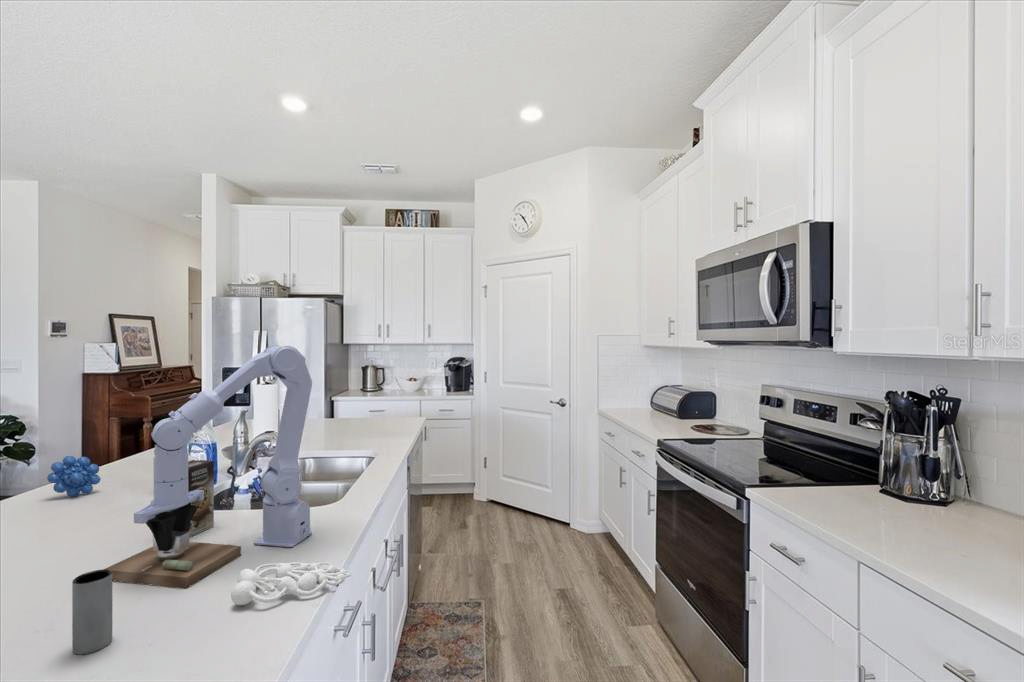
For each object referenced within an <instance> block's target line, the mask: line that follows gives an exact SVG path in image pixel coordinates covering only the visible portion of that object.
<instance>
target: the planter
mask: <svg viewBox="0 0 1024 682" xmlns="http://www.w3.org/2000/svg"><path fill="white" fill-rule="evenodd" d="M71 583H72V585H71V586H72V591H71V593H72V594H71V595H72V601H71V602H72V603H71V604H72V605H71V606H72V607H71V610H72V611H71V614H72V619H71V620H72V625H71V627H72V629H71V630H72V632H71V633H72V635H71V638H72V641H71V642H72V645H71V646H72V652H73V654H75V655H86V654H91V653H94V652H97V651H100V650H102V649H104V648H105V647H107V646H108V645H109V644H110V643H111V642H112V641H113V581H112V571H111V570H103V569H96V570H92V571H88V572H85V573H82V574H79V575H78V576H77V577H75V578H74V579H73V580H72V582H71Z"/></svg>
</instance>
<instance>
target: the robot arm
mask: <svg viewBox="0 0 1024 682" xmlns="http://www.w3.org/2000/svg"><path fill="white" fill-rule="evenodd" d="M273 375H274V376H275V377H277V378H278V379H279V380H280V381H281V383H282V384H283V385H284V386H285V387H286V390H285V391H286V393H285V397H284V402H283V407H282V412H281V415H280V421H279V427H278V431H277V436H276V441H275V447H274V451H273V455H272V457H271V459H270V460H269V461H268V464H267V469H266V470H265V471H264V473H263V474H262V476H261V479H260V482H259V483H260V488H261V490H262V491H263V492H265V495H264V497H263V499H262V536H261V537H260V538H258V539H257V540H254V541H253V545H258V546H270V547H281V548H282V547H284V548H293V547H294V546H296V545H297V544H299V543H301V542H302V541H303V540H305V539H307V538H308V537H309V536H311V535H312V533H313V532H312V531H311V507H310V504H309V503H308V502H307V501H304V500H301V499H299V494H300V493H301V490H302V484H301V483H302V482H301V480H300V474H301V468H300V463H299V459H298V458H299V455H300V454H299V453H300V448H301V443H302V439H303V438H302V437H303V432H304V428H305V424H306V423H305V422H306V418H307V413H308V408H309V403H310V397H311V392H312V387H313V381H312V378H311V375H310V372H309V369H308V367H307V363H306V357H305V356H304V355H303V354H302V353H301V352H300V351H299V349H298V348H296V347H294V346H291V345H278V344H276V345H274V344H273V345H271V346H270V345H269V346H267V348H265V349H264V350H263V351H261V352H259V353H257V354H255V355H254V356H252V357H251V358H250V359H249V360H247V361H246V362H244V364H243V365H241V366H240V367H239V368H237V370H235V371H234V372H233V373H232V374H231V375H230V376H228V377H227V378H226V379H225V380H224V381H222V382H221V383H220V384H218V385H217V386H216V387H215V388H214V389H212V390H202V391H200V392H198V393H196V392H194V393H192V394H191V395H189V399H190V400H188V401H187V402H186V403H184V404H183V405H181V407H179V408H178V409H177V410H175V411H174V410H171V411H170V412H169V413H168V416H169V417H167V418H164V419H161V420H159V421H158V422H156V423H155V425H154V427H153V429H152V432H151V433H150V435H151V438H152V440H153V442H154V443H156V444H154V449H153V453H154V456H153V500H150V504H148V505H147V506H145V507H143V508H142V509H140V510H138V511H136V512H134V513H133V523H134V524H139V525H143V524H146V526H147V527H148V528H149V530H150V531H151V534H152V536H153V535H154V538H155V540H156V543H157V547H158V550H159V551H169V550H170V548H171V542H172V531H183V532H187V529H188V526H189V524H190V521H191V519H192V517H193V515H194V514H195V512H196V511H197V506H196V505H191V503H192V502H195V501H197V500H199V501H200V500H203V499H204V490H194V491H191V492H188V461H189V454H188V444H189V443H190V442H191V439H192V437H193V436H192V434H193V433H197V432H198V431H199V430H201V429H202V428H203V427H204V426H206V425H208V423H209V422H211V421H212V420H213V419H214V418H215V417H217V416H218V415H219V414H221V413H222V412H223V411H224V404H225V402H226V401H227V400H228V399H229V398H231V397H232V396H234V395H236V394H237V393H238V392H239V391H241V390H242V389H243V388H245V387H247V386H248V385H249V384H251V382H252V381H254V380H255V379H257V378H261V377H267V376H268V377H269V376H273ZM310 534H311V535H310ZM307 536H308V537H307Z"/></svg>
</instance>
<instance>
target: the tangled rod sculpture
mask: <svg viewBox="0 0 1024 682" xmlns="http://www.w3.org/2000/svg"><path fill="white" fill-rule="evenodd" d="M322 565H327V566H328V567H327V569H323V568H320V566H322ZM294 566H297V567H294ZM264 567H265V568H264ZM263 568H264V569H263ZM260 569H262V570H261V571H259V570H260ZM308 569H309V570H308ZM258 571H259V572H258ZM336 571H337V572H336ZM338 571H339V572H338ZM270 572H276V577H267V576H265V577H262V576H263V575H265V574H266V573H270ZM298 574H299V575H298ZM351 576H352V574H351V573H349V572H348V570H347V569H346V568H339V567H338V568H337V567H336V566H335V565H333V564H332V563H330V562H327V561H322V562H319V563H317V562H313V563H308V562H307V563H306V562H297V561H296V562H295V561H294V562H287V563H281V562H280V563H278V562H277V563H264V564H260V565H258V566H257V567H255V569H254V570H252V569H250V568H244V569H242V570H241V571H240V572H239V573H238V579H237V584H235V585H234V587H233V588H232V590H231V593H230V598H231V601H232V603H233V604H234V605H237V606H244V605H247V604H249V603H251V601H252V600H255V601H258V602H259V603H273V602H276V601H278V600H279V599H281V598H282V597H283V596H284V595H285V594H292V595H301V596H304V597H305V596H306V597H308V596H313V595H315V594H317V592H319V591H320V590H321V589H323V588H324V587H325V586H326V584H329V585H332V586H336V585H337V586H338V585H340V584H343V583H344V582H345V580H346V578H350V577H351ZM296 580H297V581H296ZM330 580H332V581H330ZM333 581H334V582H333ZM269 582H270V583H273V585H276V587H275V586H273V585H270V583H269ZM318 583H319V584H318ZM260 584H262V585H264V586H266V587H268V588H269V590H270V591H271V592H274V591H275V590H277V591H278V592H279V593H278V594H277V595H275V596H271V597H263V596H261V595H259V594H257V588H258V589H259V590H261V591H262V592H263V595H264V596H267V595H269V593H270V592H269V591H268V590H266V589H265V588H264V587H263V586H262V585H260ZM317 584H318V585H317Z"/></svg>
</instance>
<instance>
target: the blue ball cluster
mask: <svg viewBox="0 0 1024 682" xmlns="http://www.w3.org/2000/svg"><path fill="white" fill-rule="evenodd" d="M50 469H51V471H52V472H51V473H50V474H48V475H47V477H46V479H47V481H48V482H49V483H51V484H54V485H53V487H52V488H53V491H54V492H55V493H59V494H62V493H63V494H64V492H65V493H66V495H67V496H68V497H75V498H76V497H77V496H78V495H80V493H82V494H90V493H91V492H92V491H93V490H94V487H93V485H97V484H100V482H101V477H100V475H99V474H98V473H99V471H100V467H99V465H97V464H95V463H91V460H90V458H89V457H87V456H80V457H77V458H76V457H75V456H73V455H66V456H65V457H63V459H62V462H61V461H55V462H53V463H52V464H51V466H50Z"/></svg>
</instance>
